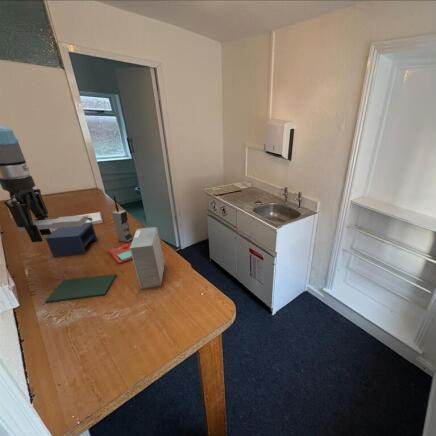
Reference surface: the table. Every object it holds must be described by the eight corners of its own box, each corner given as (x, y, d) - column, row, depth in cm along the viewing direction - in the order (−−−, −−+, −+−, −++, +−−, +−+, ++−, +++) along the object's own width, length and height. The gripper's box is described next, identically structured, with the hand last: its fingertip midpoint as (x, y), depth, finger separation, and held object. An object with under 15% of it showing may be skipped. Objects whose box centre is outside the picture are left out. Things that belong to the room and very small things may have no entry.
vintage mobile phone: (127, 242, 122) (116, 197, 111) (119, 241, 122) (107, 196, 112) (133, 239, 125) (122, 195, 115) (125, 237, 126) (113, 194, 115)
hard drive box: (145, 267, 105) (137, 228, 97) (164, 264, 108) (157, 226, 99) (140, 290, 92) (129, 247, 84) (161, 286, 95) (153, 244, 86)
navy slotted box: (53, 256, 107) (45, 238, 103) (69, 241, 119) (62, 224, 115) (84, 254, 110) (78, 235, 106) (97, 239, 122) (92, 222, 118)
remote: (18, 231, 81) (15, 225, 80) (28, 225, 86) (25, 219, 85) (80, 226, 87) (78, 220, 86) (86, 220, 91) (84, 215, 90)
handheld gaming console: (128, 242, 120) (140, 254, 111) (128, 244, 120) (141, 256, 112) (107, 249, 113) (118, 262, 105) (107, 251, 113) (119, 264, 105)
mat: (45, 303, 83) (45, 301, 83) (64, 281, 93) (63, 279, 93) (105, 295, 88) (104, 293, 88) (116, 275, 99) (116, 273, 98)
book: (49, 232, 125) (48, 229, 124) (51, 222, 135) (50, 219, 134) (103, 222, 139) (102, 219, 138) (101, 214, 148) (100, 211, 148)
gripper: (10, 184, 70) (39, 249, 80) (45, 170, 85) (67, 226, 95) (-24, 184, 68) (11, 251, 78) (19, 170, 83) (44, 228, 93)
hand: (42, 237), depth 86 cm, fingers closed on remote, 5 cm apart
